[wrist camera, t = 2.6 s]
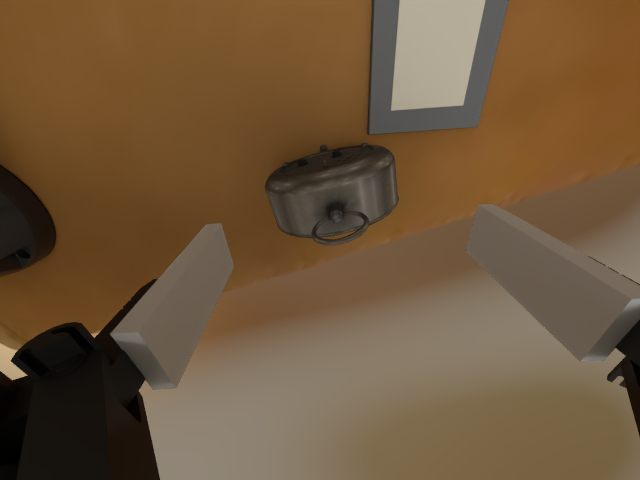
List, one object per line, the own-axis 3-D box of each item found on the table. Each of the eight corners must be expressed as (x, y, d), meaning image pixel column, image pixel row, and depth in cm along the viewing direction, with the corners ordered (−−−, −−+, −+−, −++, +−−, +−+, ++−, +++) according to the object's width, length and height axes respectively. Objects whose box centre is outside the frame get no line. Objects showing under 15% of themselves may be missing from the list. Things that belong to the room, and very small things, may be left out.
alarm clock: (285, 200, 28) (261, 298, 14) (270, 153, 25) (221, 217, 11) (377, 178, 27) (451, 260, 13) (372, 127, 24) (457, 161, 10)
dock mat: (367, 133, 25) (374, 137, 22) (377, -156, 16) (391, -207, 13) (472, 125, 25) (492, 128, 22) (542, -167, 16) (589, -221, 13)
